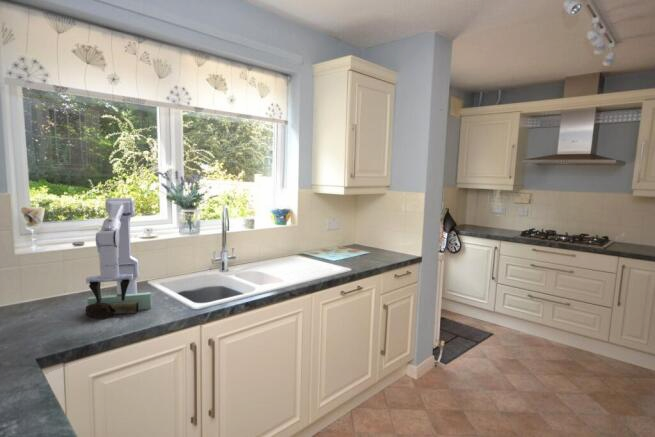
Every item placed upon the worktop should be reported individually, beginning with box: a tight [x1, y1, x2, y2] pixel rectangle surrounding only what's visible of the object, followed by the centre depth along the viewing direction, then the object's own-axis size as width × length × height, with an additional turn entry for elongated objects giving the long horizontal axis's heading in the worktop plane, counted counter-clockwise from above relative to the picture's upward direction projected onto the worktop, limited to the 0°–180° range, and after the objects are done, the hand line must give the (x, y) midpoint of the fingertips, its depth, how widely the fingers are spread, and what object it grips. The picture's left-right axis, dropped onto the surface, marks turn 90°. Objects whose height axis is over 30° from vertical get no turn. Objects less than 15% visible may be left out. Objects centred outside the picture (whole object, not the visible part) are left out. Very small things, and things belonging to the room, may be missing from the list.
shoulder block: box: [86, 291, 153, 311], centre depth 148 cm, size 3×22×7 cm, turn 108°
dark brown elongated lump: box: [85, 302, 139, 320], centre depth 143 cm, size 18×7×6 cm, turn 107°
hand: (111, 300), depth 135 cm, fingers open, 7 cm apart
